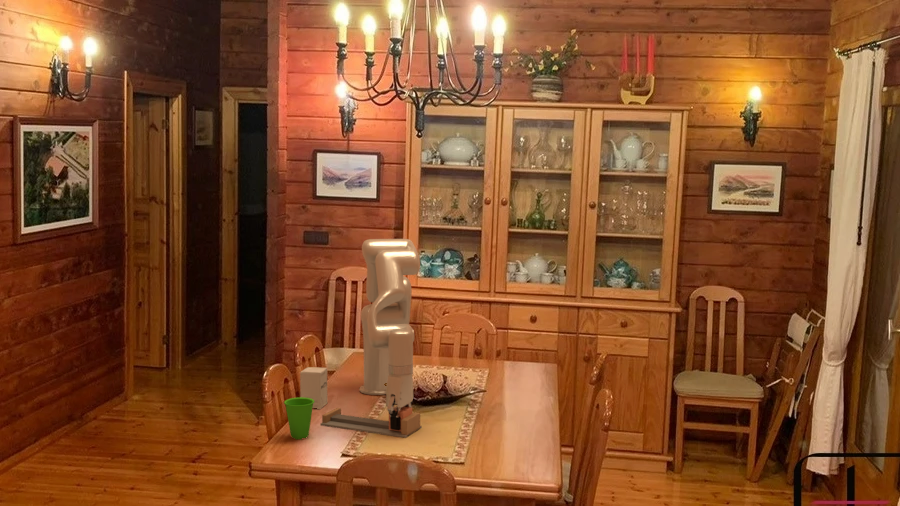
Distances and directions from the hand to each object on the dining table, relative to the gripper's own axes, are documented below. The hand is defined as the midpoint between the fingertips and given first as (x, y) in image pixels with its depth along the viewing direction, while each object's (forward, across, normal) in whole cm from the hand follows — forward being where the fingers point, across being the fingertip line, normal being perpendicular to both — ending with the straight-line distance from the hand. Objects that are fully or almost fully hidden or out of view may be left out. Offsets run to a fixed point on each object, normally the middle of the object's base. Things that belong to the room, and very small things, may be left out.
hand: (400, 425), depth 281 cm
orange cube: (+2, 0, 0) cm, 2 cm away
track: (+2, 0, -10) cm, 11 cm away
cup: (+2, +18, -25) cm, 31 cm away
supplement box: (+2, -12, -39) cm, 41 cm away
